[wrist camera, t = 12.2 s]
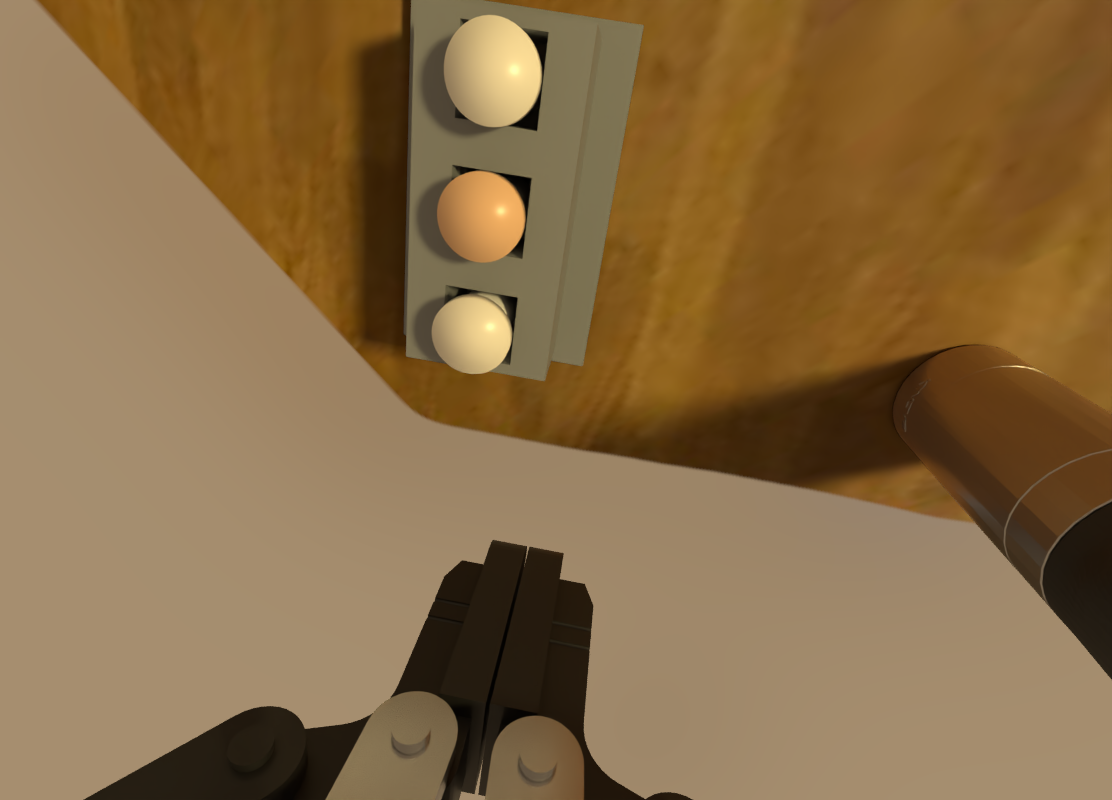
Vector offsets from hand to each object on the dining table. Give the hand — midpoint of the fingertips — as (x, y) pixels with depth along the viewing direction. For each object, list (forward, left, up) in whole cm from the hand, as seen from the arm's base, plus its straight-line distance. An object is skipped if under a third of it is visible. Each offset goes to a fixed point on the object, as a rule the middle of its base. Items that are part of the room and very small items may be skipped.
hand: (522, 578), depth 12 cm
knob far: (+7, +4, -31) cm, 32 cm away
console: (+7, -3, -32) cm, 33 cm away
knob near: (+7, -10, -31) cm, 33 cm away
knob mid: (+7, -3, -31) cm, 32 cm away
